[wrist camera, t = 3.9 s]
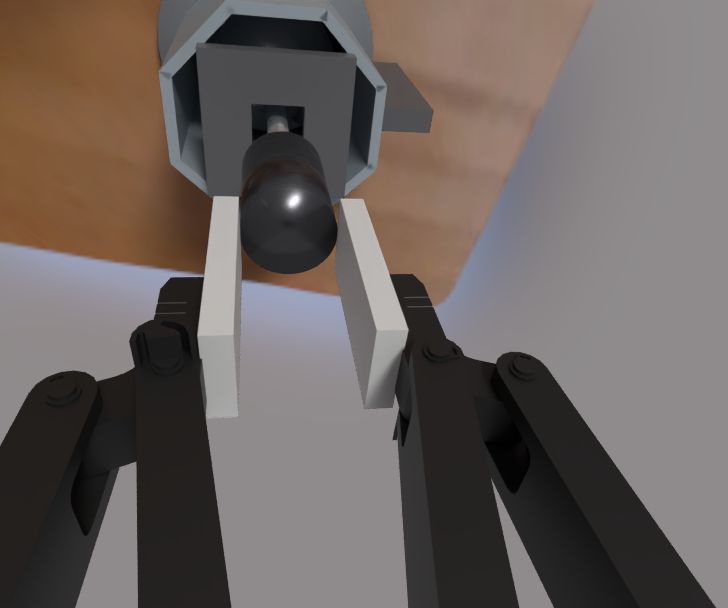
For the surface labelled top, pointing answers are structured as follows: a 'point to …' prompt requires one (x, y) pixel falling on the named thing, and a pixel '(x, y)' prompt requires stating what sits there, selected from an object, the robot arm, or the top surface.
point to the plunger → (282, 161)
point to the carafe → (279, 97)
